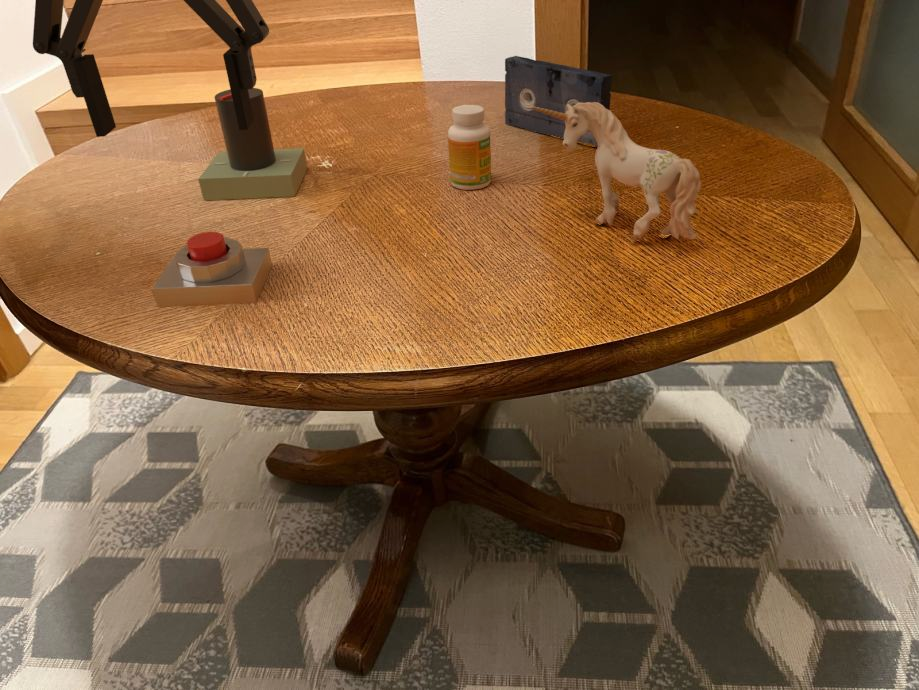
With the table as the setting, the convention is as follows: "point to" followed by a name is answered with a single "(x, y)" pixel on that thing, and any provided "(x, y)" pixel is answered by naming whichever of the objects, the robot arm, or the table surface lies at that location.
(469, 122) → the supplement bottle
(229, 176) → the dial panel
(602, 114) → the unicorn figurine
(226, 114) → the dial
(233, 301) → the button box
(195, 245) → the button
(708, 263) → the table surface
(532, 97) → the vhs cassette tape
